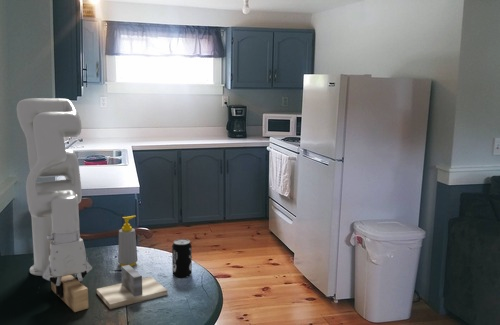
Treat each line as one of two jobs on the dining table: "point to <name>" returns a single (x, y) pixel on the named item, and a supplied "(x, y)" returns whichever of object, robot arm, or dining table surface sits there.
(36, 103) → the robot arm
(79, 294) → the oak beam
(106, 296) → the ridge stand
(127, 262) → the soap bottle
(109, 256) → the dining table surface
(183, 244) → the beverage can
